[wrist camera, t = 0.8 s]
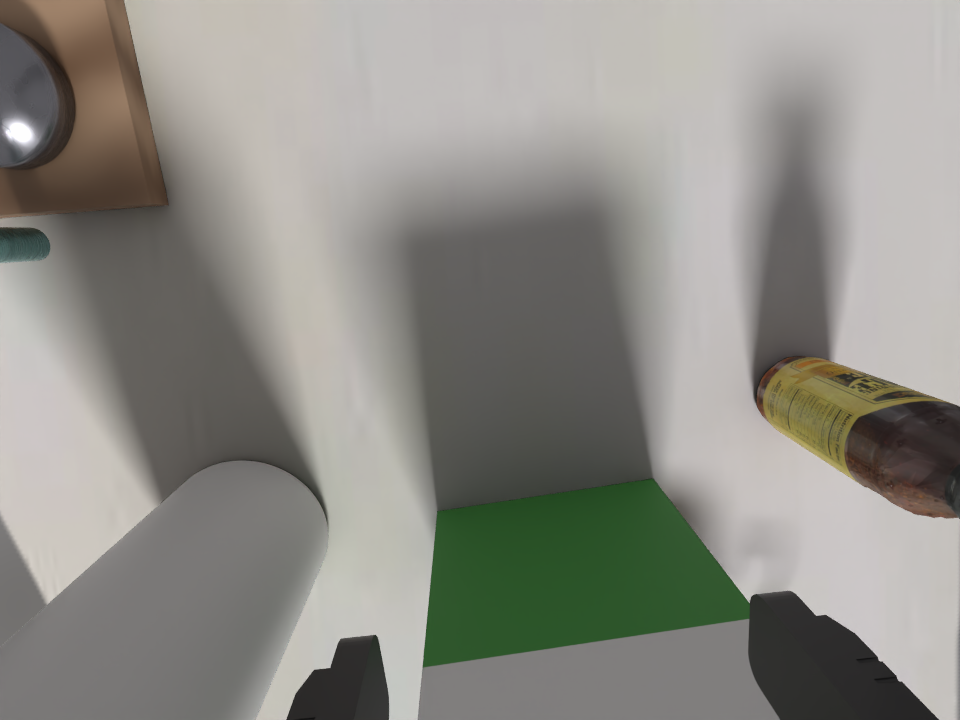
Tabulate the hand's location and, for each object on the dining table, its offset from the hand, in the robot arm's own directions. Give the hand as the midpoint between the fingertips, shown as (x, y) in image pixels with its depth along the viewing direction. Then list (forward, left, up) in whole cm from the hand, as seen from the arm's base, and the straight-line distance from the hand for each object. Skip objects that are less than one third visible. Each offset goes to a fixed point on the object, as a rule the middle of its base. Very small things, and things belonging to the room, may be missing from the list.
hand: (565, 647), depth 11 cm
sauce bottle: (+5, +23, -28) cm, 36 cm away
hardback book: (+16, +4, -28) cm, 32 cm away
